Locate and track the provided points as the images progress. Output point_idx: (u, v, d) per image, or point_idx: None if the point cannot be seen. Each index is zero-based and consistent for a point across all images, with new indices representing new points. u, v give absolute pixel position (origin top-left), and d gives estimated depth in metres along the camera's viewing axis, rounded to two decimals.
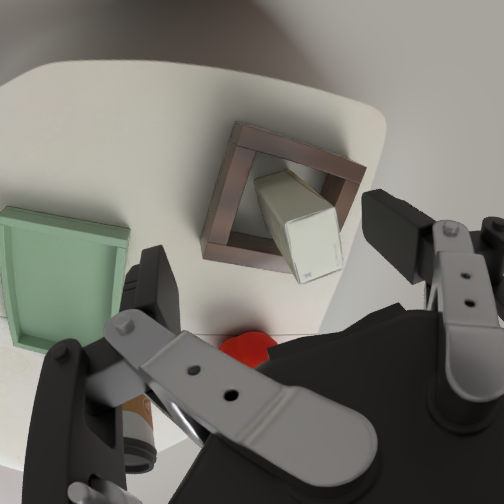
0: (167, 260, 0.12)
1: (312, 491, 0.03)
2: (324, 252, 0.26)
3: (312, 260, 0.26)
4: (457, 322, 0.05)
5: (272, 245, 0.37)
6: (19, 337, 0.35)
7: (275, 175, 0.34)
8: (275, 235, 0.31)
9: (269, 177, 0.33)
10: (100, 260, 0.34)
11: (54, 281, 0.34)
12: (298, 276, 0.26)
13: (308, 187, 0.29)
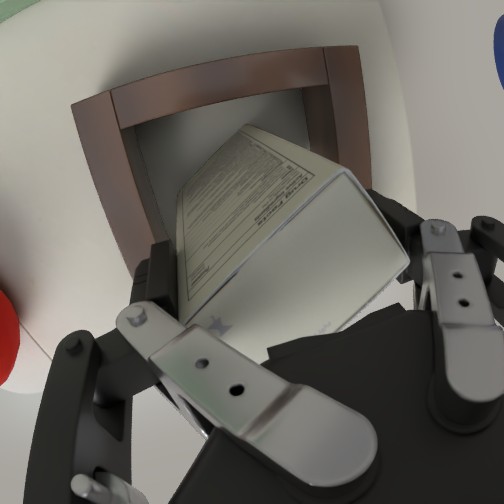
0: (175, 255, 0.12)
1: (312, 491, 0.03)
2: (301, 319, 0.09)
3: (266, 308, 0.09)
4: (453, 323, 0.05)
5: (157, 222, 0.18)
6: None
7: None
8: (206, 202, 0.13)
9: None
10: None
11: None
12: (201, 308, 0.08)
13: None
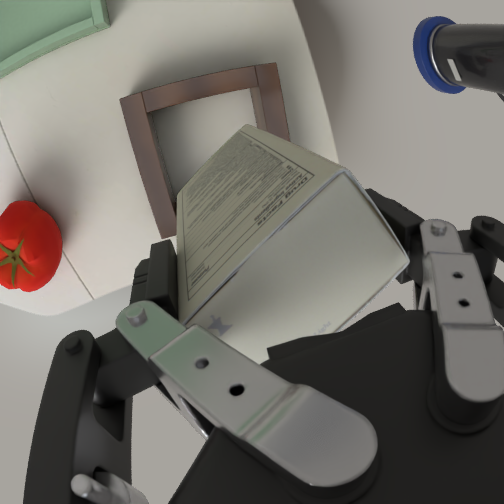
0: (175, 255, 0.12)
1: (312, 491, 0.03)
2: (301, 319, 0.09)
3: (266, 308, 0.09)
4: (453, 323, 0.05)
5: (164, 168, 0.29)
6: None
7: None
8: (206, 201, 0.13)
9: None
10: (64, 16, 0.20)
11: None
12: (200, 308, 0.08)
13: None
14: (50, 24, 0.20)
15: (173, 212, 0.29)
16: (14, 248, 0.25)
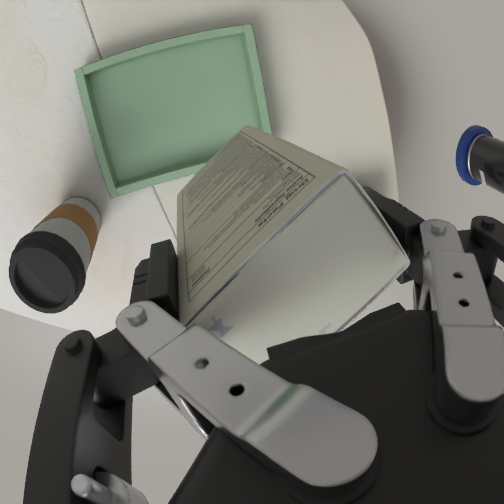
0: (175, 255, 0.12)
1: (312, 491, 0.03)
2: (302, 320, 0.09)
3: (267, 309, 0.09)
4: (453, 323, 0.05)
5: None
6: (88, 74, 0.28)
7: None
8: (206, 203, 0.13)
9: None
10: (233, 135, 0.36)
11: (186, 96, 0.33)
12: (201, 309, 0.08)
13: None
14: (219, 139, 0.36)
15: None
16: None
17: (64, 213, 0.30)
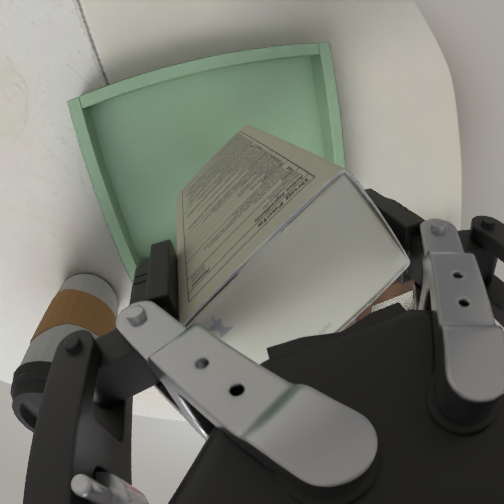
0: (175, 255, 0.12)
1: (312, 491, 0.03)
2: (301, 320, 0.09)
3: (267, 309, 0.09)
4: (453, 323, 0.05)
5: None
6: (88, 106, 0.20)
7: None
8: (206, 202, 0.13)
9: None
10: None
11: None
12: (201, 309, 0.08)
13: None
14: None
15: None
16: None
17: (72, 313, 0.22)
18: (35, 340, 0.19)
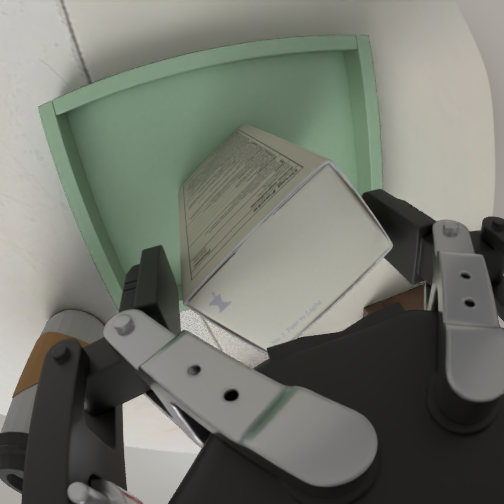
0: (167, 260, 0.12)
1: (312, 491, 0.03)
2: (293, 297, 0.10)
3: (262, 286, 0.10)
4: (457, 322, 0.05)
5: None
6: (64, 113, 0.15)
7: None
8: (206, 194, 0.14)
9: None
10: None
11: None
12: (203, 285, 0.09)
13: None
14: None
15: None
16: None
17: None
18: (16, 399, 0.14)
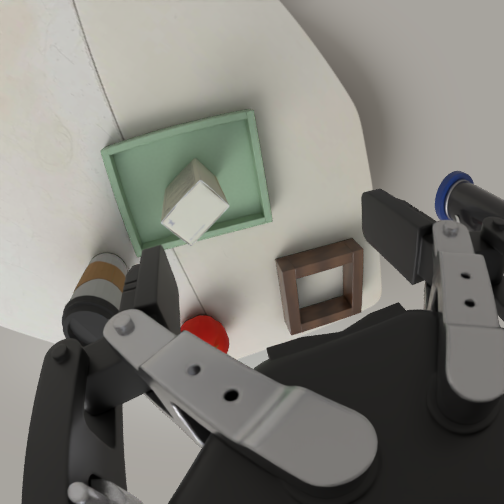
0: (167, 260, 0.12)
1: (312, 491, 0.03)
2: (194, 222, 0.32)
3: (184, 217, 0.32)
4: (457, 322, 0.05)
5: None
6: None
7: (208, 170, 0.41)
8: (173, 191, 0.36)
9: (204, 166, 0.41)
10: (237, 204, 0.46)
11: None
12: (166, 217, 0.32)
13: (221, 190, 0.37)
14: None
15: (300, 323, 0.55)
16: None
17: (101, 273, 0.39)
18: (79, 288, 0.36)
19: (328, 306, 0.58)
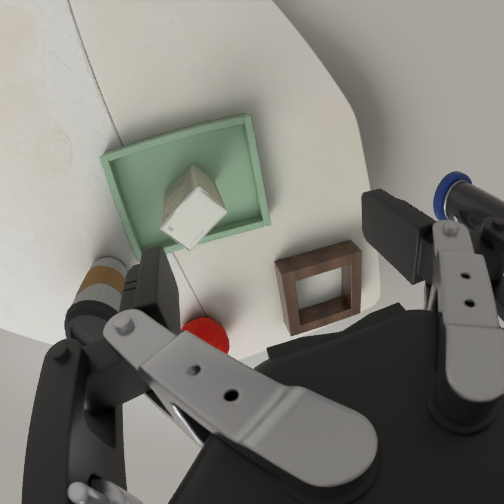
0: (167, 260, 0.12)
1: (312, 491, 0.03)
2: (193, 228, 0.33)
3: (182, 223, 0.33)
4: (457, 322, 0.05)
5: None
6: None
7: (206, 174, 0.42)
8: (172, 196, 0.37)
9: (202, 171, 0.41)
10: (236, 208, 0.46)
11: None
12: (165, 223, 0.32)
13: (219, 195, 0.38)
14: None
15: (299, 324, 0.56)
16: None
17: (102, 278, 0.40)
18: (80, 292, 0.37)
19: (327, 307, 0.58)
